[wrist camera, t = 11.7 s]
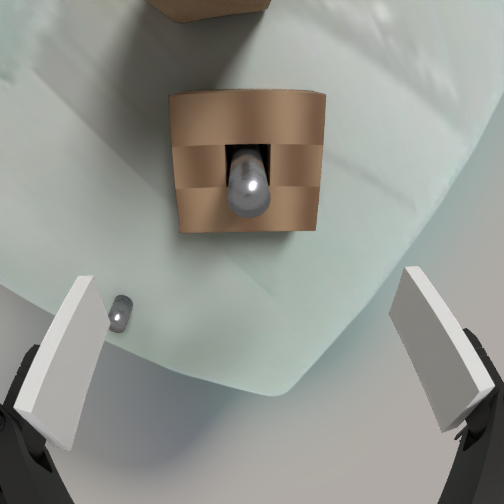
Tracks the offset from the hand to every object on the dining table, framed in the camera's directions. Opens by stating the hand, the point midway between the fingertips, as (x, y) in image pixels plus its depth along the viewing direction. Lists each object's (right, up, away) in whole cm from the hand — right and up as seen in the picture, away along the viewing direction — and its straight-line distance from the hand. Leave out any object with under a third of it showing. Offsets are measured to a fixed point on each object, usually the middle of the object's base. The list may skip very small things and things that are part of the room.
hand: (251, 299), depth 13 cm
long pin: (-1, +13, +21) cm, 25 cm away
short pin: (-20, -6, +32) cm, 38 cm away
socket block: (-1, +13, +21) cm, 25 cm away
